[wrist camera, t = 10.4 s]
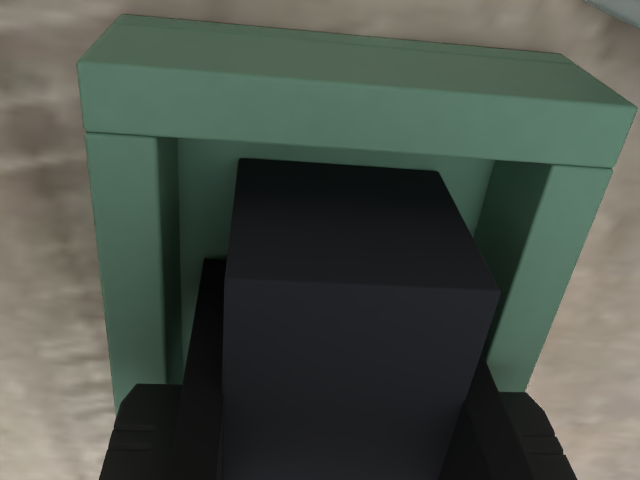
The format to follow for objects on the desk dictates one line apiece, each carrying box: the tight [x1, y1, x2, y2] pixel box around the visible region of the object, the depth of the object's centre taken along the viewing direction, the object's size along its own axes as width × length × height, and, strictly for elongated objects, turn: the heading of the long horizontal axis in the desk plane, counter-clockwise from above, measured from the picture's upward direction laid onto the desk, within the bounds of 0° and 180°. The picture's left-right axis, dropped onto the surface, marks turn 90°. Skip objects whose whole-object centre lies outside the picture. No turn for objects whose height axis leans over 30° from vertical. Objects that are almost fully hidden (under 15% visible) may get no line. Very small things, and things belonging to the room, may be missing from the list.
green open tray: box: [77, 14, 637, 417], centre depth 15 cm, size 13×9×3 cm
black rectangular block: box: [222, 158, 501, 480], centre depth 14 cm, size 8×4×4 cm, turn 174°
